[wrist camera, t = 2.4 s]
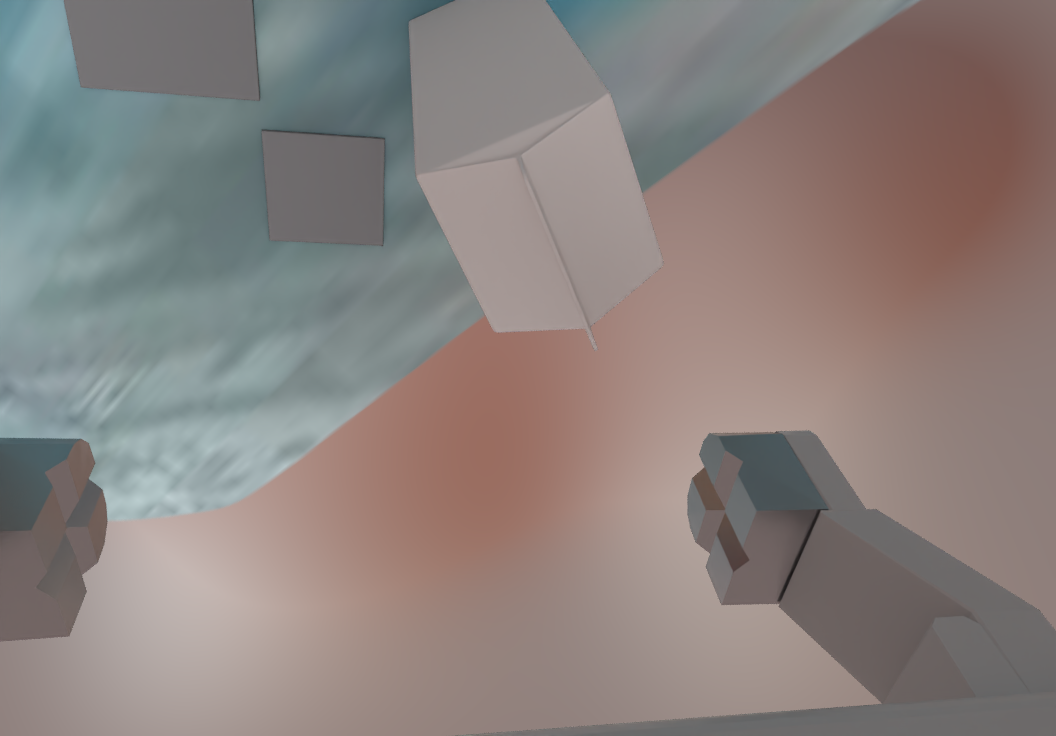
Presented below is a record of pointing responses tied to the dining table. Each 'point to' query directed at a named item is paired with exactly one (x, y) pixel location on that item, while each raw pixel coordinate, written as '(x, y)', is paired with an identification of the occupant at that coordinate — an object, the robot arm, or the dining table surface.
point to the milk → (526, 166)
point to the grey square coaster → (324, 187)
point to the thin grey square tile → (166, 46)
